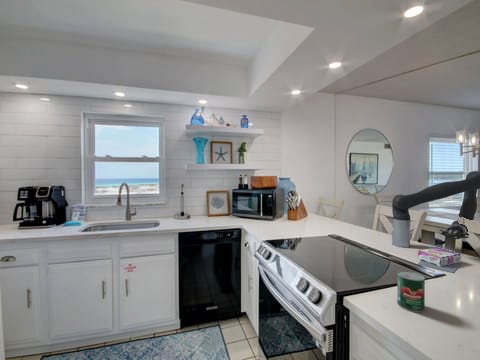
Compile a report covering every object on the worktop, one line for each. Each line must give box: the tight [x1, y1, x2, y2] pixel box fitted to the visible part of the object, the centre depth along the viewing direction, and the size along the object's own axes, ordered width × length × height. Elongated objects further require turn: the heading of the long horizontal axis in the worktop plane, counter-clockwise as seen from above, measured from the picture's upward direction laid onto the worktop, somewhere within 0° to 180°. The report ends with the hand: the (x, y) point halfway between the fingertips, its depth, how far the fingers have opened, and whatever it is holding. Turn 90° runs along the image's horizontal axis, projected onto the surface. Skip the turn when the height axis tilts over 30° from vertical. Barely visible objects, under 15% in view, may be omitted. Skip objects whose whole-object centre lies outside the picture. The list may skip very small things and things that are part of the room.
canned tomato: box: [396, 270, 426, 313], centre depth 83 cm, size 8×8×11 cm
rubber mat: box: [417, 260, 462, 274], centre depth 123 cm, size 14×18×1 cm
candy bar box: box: [417, 246, 462, 267], centre depth 126 cm, size 11×5×16 cm
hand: (450, 236), depth 128 cm, fingers closed
